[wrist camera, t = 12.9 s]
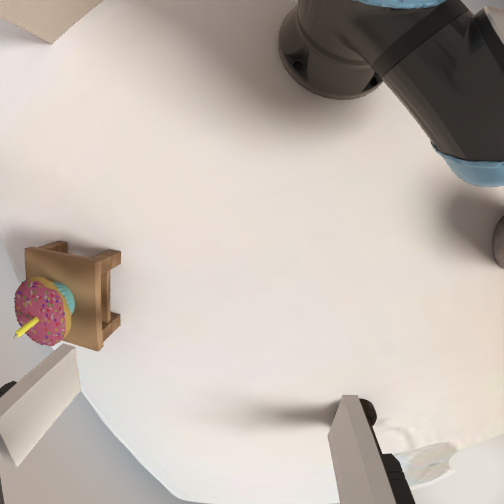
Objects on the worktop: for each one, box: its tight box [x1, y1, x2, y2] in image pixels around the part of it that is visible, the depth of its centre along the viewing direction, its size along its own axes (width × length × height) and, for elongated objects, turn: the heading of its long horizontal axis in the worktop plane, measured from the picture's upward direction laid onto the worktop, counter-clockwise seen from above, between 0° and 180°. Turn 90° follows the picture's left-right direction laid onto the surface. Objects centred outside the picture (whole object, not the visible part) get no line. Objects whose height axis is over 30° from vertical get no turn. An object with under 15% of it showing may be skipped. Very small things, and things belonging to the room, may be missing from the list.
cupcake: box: [14, 277, 75, 346], centre depth 30 cm, size 9×8×12 cm
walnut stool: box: [25, 241, 121, 351], centre depth 40 cm, size 12×12×8 cm
